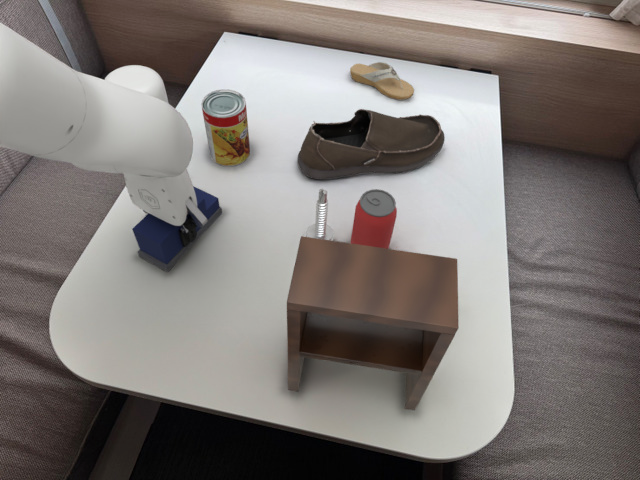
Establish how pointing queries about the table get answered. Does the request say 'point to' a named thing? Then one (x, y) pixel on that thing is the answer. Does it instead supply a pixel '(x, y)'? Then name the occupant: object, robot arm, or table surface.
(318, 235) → the screw
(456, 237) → the table surface
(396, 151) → the loafer
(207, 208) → the blue stepped block
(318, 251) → the shoe stand
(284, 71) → the table surface
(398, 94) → the sandal
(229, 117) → the canned food
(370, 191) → the beer can
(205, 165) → the table surface
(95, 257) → the table surface
